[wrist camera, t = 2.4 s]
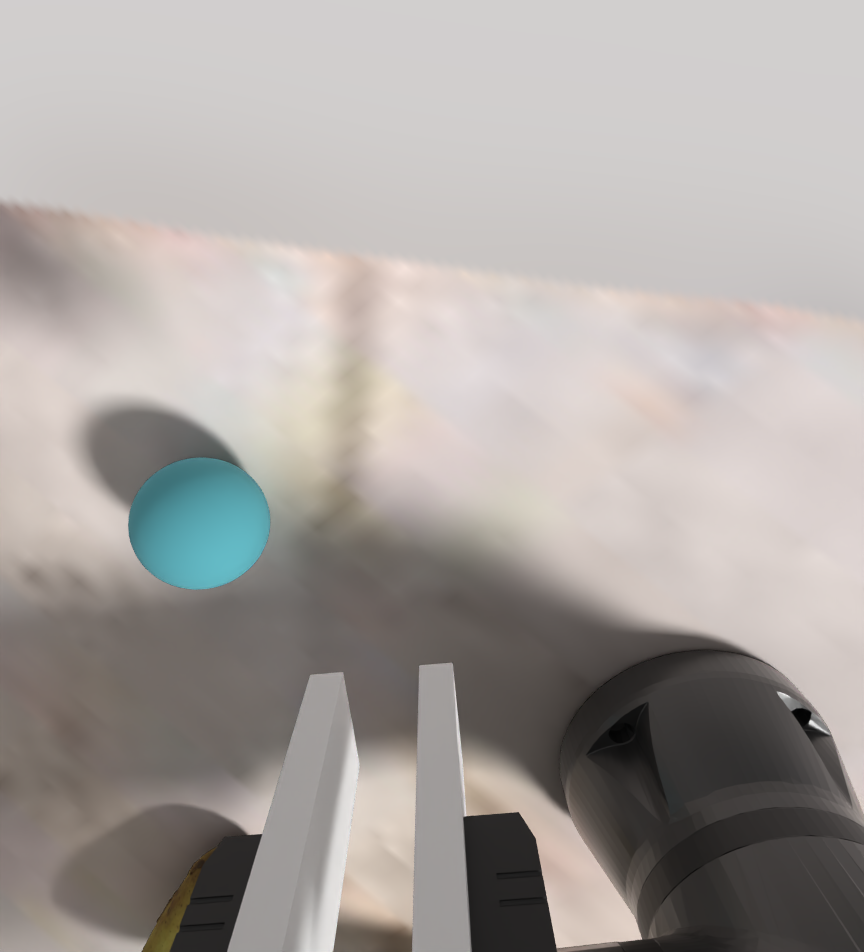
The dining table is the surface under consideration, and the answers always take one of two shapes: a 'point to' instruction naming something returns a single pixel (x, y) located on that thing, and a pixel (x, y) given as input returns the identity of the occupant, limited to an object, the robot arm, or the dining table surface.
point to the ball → (199, 523)
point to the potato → (174, 911)
